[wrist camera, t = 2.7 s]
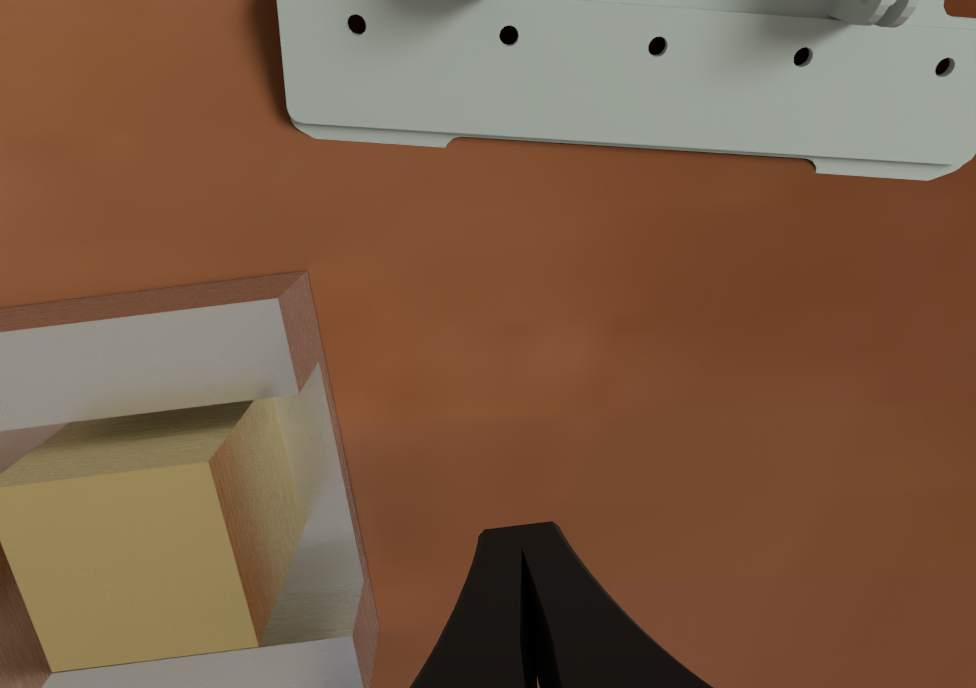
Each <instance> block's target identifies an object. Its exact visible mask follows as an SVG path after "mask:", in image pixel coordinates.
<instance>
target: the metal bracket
mask: <svg viewBox="0 0 976 688" xmlns="http://www.w3.org/2000/svg"><path fill="white" fill-rule="evenodd" d="M943 5H944V0H277V9H278V20H279V30H280V41H281V51H282V62H283V73H284V83H285V94H286V104H287V110H288V113H289V115H290V118H291V122H292V123H293V124H294V126H295V127H296V128H297V129H299V130H300V131H302V132H303V133H305V134H307V135H309V136H311V137H313V138H315V139H329V140H344V141H358V142H373V143H387V144H402V145H416V146H431V147H445V148H446V145H447V143H448V142H450V141H451V140H452V139H453V138H457V137H477V138H493V139H509V140H525V141H540V142H556V143H572V144H588V145H603V146H619V147H635V148H651V149H666V150H682V151H698V152H714V153H729V154H745V155H761V156H777V157H792V158H806V159H809V160H811V161H812V162H813V163H814V165H815V166H816V173H824V174H839V175H853V176H868V177H882V178H897V179H911V180H926V181H929V180H931V179H934V178H937V177H940V176H943V175H945V174H948V173H951V172H953V171H955V170H957V169H959V168H960V167H961V166H962V165H963V164H965V163H966V162H968V161H969V160H971V159H972V158H973V156H974V155H975V154H976V18H965V17H952V16H949V15H947V14H946V12H945V9H944V7H943ZM354 14H357V15H360V16H361V17H362V18H363V19H364V20H365V23H366V30H365V31H364V33H361V34H356V33H353V32H352V31H351V30H350V29H349V26H348V19H349V17H350V16H351V15H354ZM509 25H510V26H513V27H515V28H516V30H517V31H518V37H517V40H516V41H515V42H514V43H513V44H510V45H507V44H504V43H502V41H501V40H500V37H499V34H500V31H501V30H502V29H503V28H504V27H505V26H509ZM659 36H660V37H663V38H664V40H665V48H664V50H663V51H662V52H661V53H660V54H658V55H652V54H650V53H649V49H648V46H649V44H650V41H651V40H652V39H654V38H655V37H659ZM804 47H807V48H808V50H809V57H808V59H807V60H806V62H804V63H803V64H802V65H797V66H796V65H795V63H794V56H795V54H796V52H797V51H798V50H799V49H801V48H804ZM944 58H949V60H950V64H949V67H948V69H947V70H946V71H945V72H944V73H942V74H941V75H936V73H935V70H936V66H937V65H938V63H939V62H940V61H941V60H943V59H944Z"/></svg>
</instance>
